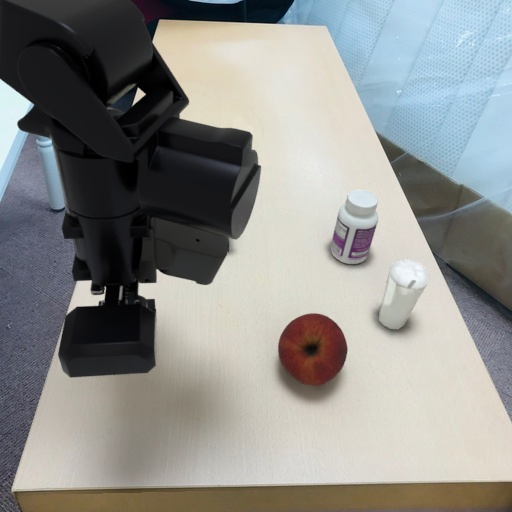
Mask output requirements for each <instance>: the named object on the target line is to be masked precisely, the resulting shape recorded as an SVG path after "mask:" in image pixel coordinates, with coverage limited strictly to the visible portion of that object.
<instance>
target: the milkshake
mask: <svg viewBox="0 0 512 512" xmlns="http://www.w3.org/2000/svg"><path fill="white" fill-rule="evenodd" d="M429 282H430V273H429V271H428V269H427V268H426V267H425V266H424V264H423V263H420V262H419V261H417V260H414V259H413V260H412V259H409V258H405V259H400V260H396V261H394V262H392V264H390V266H389V270H388V275H387V279H386V284H385V289H384V293H383V297H382V301H381V305H380V308H379V309H380V310H379V312H378V321H379V322H380V323H381V325H382V326H383V327H385V328H387V329H389V330H400V329H401V328H403V327H404V326H405V324H406V323H407V320H409V317H410V316H411V313H412V312H413V310H414V308H415V307H416V304H417V303H418V301H419V299H420V298H421V296H422V295H423V293H424V291H425V289H426V288H427V287H428V285H429Z"/></svg>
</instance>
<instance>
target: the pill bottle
mask: <svg viewBox="0 0 512 512" xmlns="http://www.w3.org/2000/svg"><path fill="white" fill-rule="evenodd" d="M378 200H379V199H378V197H377V195H376V194H374V193H373V192H371V191H369V190H367V189H361V188H360V189H353V190H350V191H349V192H348V194H347V196H346V200H345V203H344V204H342V205H341V206H340V207H339V209H338V212H337V217H336V222H335V225H334V231H333V234H332V239H331V244H330V252H331V254H332V255H333V258H335V259H336V260H338V261H339V262H341V263H344V264H347V265H357V264H361V263H363V262H364V261H366V260H367V258H368V256H369V254H370V253H369V252H370V249H371V246H372V241H373V239H374V235H375V232H376V229H377V225H378V224H379V223H378V222H379V215H378V212H377V207H378V203H379V201H378Z"/></svg>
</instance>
